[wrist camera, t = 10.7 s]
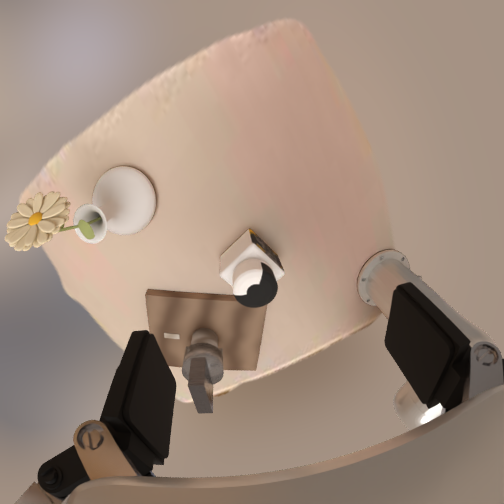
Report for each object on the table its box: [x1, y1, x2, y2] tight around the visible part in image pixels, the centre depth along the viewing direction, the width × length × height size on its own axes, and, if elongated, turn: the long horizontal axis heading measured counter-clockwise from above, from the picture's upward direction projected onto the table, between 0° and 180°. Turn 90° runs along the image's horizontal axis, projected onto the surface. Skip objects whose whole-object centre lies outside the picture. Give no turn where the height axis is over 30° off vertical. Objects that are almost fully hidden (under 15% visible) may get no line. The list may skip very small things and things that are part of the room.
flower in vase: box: [5, 166, 156, 251], centre depth 29 cm, size 13×11×25 cm
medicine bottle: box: [219, 229, 285, 308], centre depth 41 cm, size 7×7×12 cm
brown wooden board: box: [145, 289, 267, 370], centre depth 49 cm, size 22×18×7 cm
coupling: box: [182, 343, 223, 413], centre depth 42 cm, size 10×7×10 cm
